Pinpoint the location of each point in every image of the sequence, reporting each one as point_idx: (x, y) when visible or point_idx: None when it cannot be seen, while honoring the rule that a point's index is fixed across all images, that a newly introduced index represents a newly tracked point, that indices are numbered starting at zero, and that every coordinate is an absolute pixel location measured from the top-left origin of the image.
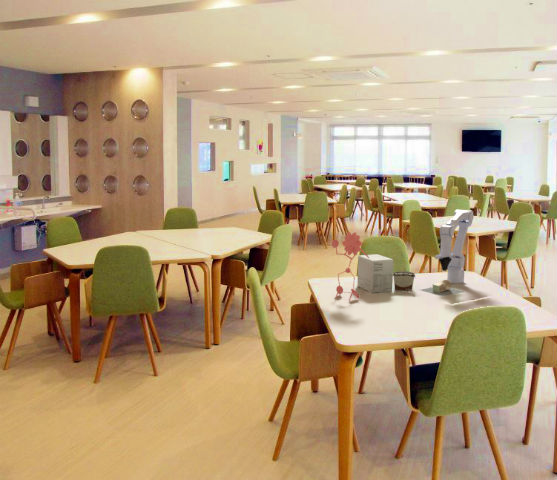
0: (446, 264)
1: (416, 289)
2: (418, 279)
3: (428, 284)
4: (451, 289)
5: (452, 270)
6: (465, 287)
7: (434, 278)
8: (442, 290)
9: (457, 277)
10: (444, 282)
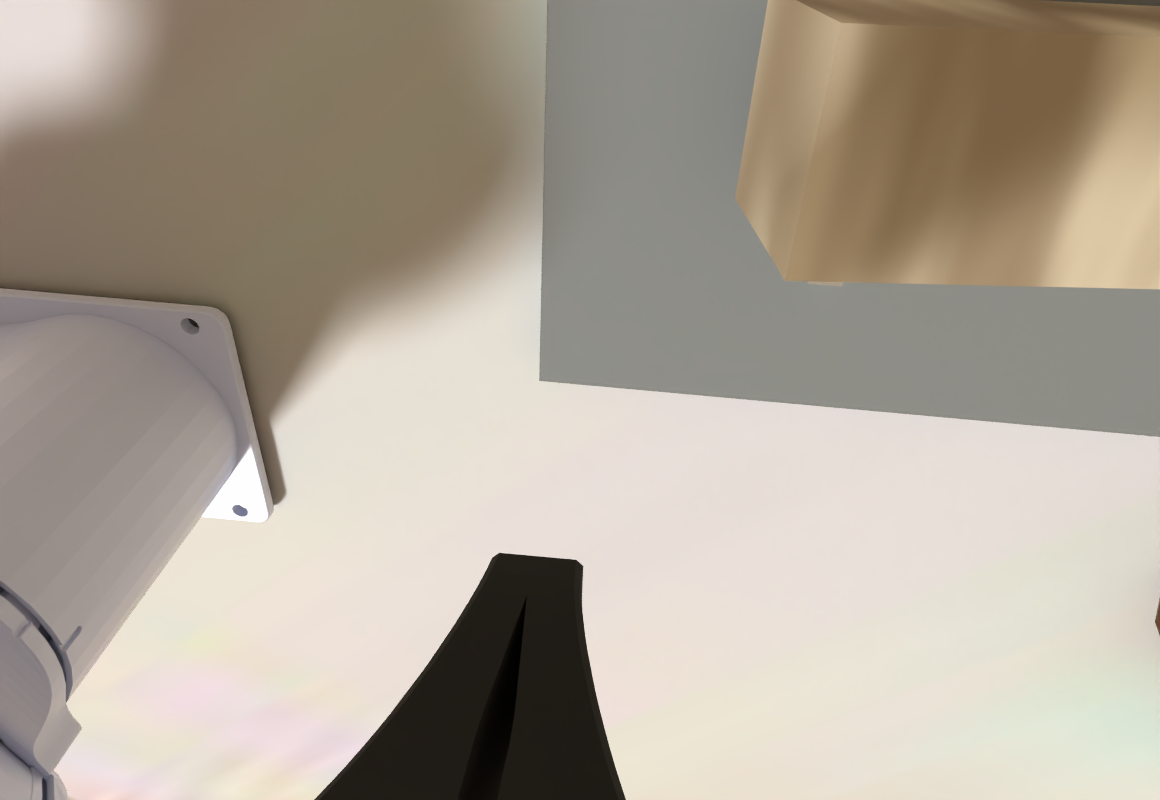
0: (544, 776)
1: (1058, 525)
2: None
3: None
4: (656, 42)
5: (38, 589)
6: (78, 75)
7: (228, 689)
8: (1134, 8)
9: (29, 397)
10: (1069, 110)
